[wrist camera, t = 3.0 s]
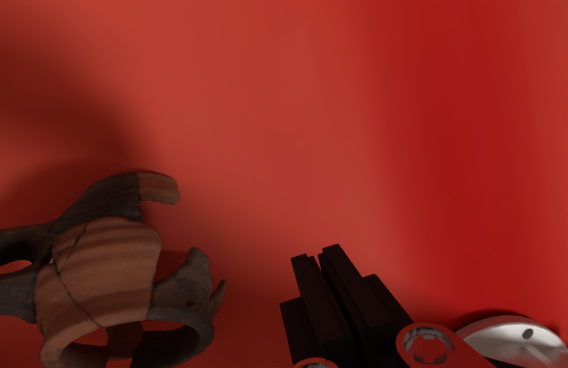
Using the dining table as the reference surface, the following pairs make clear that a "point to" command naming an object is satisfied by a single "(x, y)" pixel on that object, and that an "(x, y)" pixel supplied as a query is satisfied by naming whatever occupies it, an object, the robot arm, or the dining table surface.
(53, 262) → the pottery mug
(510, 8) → the dining table surface
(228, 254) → the dining table surface
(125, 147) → the dining table surface
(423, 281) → the dining table surface
